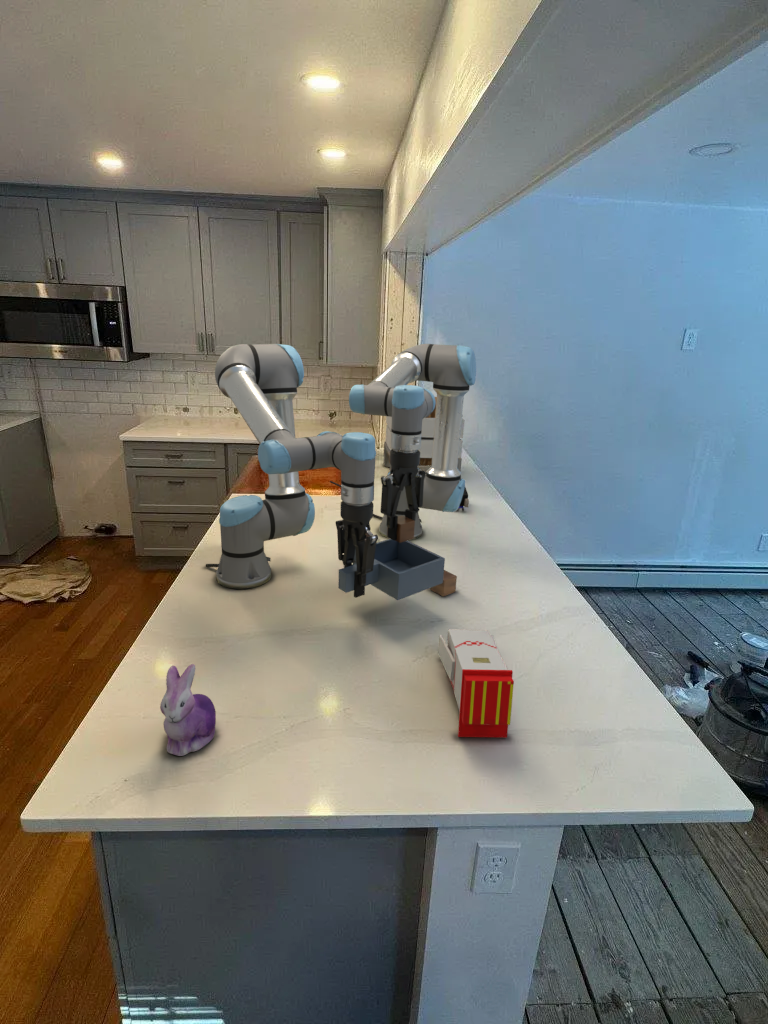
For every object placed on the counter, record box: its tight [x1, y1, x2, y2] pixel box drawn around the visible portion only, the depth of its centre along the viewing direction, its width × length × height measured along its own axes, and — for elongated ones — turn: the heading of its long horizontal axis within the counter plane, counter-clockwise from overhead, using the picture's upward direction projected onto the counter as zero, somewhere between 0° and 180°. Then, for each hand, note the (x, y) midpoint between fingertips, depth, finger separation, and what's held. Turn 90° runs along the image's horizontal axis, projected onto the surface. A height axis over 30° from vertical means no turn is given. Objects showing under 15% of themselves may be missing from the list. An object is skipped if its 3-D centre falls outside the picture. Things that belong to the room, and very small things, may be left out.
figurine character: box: [455, 486, 470, 512], centre depth 229 cm, size 7×8×15 cm
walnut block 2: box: [430, 569, 458, 598], centre depth 160 cm, size 5×5×5 cm
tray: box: [337, 538, 446, 601], centre depth 142 cm, size 18×26×7 cm
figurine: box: [159, 663, 217, 757], centre depth 100 cm, size 9×10×15 cm
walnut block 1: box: [386, 515, 415, 543], centre depth 148 cm, size 5×5×5 cm
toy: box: [437, 628, 515, 738], centre depth 117 cm, size 12×13×30 cm
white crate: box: [383, 396, 465, 473], centre depth 268 cm, size 34×33×41 cm
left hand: (354, 592), depth 138 cm, fingers closed on tray, 3 cm apart
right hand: (400, 536), depth 148 cm, fingers open, 5 cm apart
